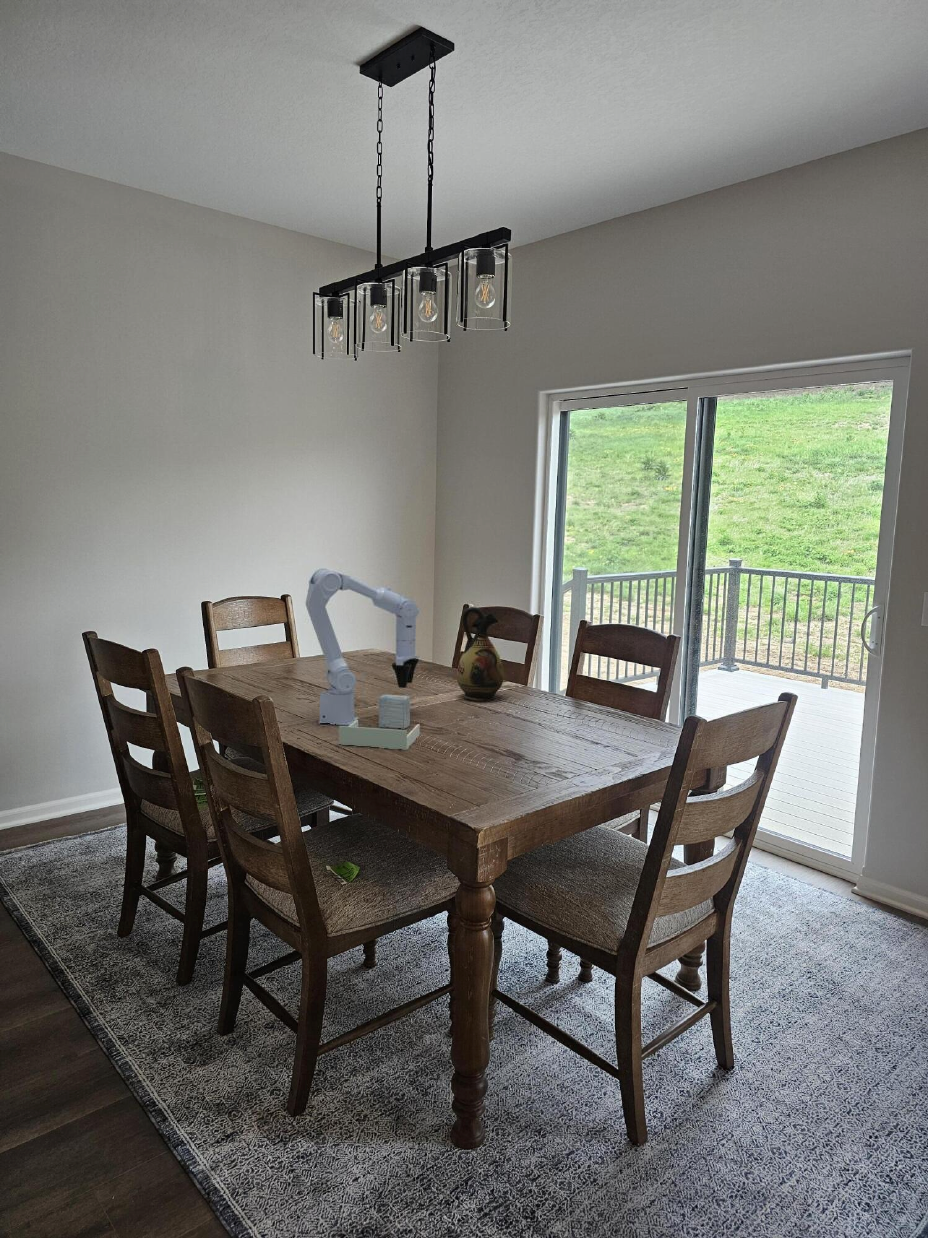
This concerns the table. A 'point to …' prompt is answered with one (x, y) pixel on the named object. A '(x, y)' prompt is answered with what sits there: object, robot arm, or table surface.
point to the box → (377, 736)
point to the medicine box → (394, 711)
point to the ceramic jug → (480, 660)
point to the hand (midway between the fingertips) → (405, 685)
